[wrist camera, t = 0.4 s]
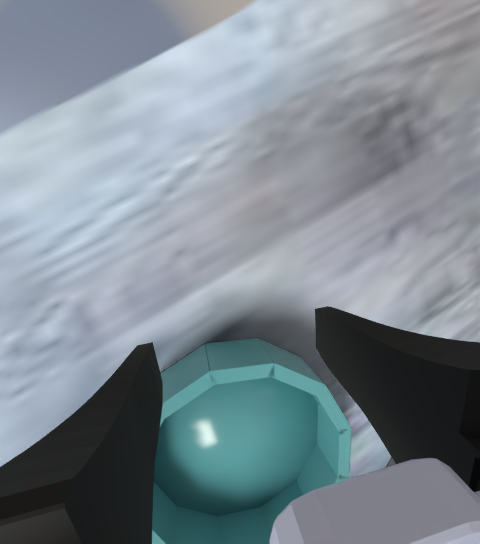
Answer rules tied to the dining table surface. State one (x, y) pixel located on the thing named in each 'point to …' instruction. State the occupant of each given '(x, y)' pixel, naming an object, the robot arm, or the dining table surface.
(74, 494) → the robot arm
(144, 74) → the dining table surface
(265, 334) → the dining table surface
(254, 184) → the dining table surface
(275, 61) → the dining table surface
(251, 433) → the bowl
